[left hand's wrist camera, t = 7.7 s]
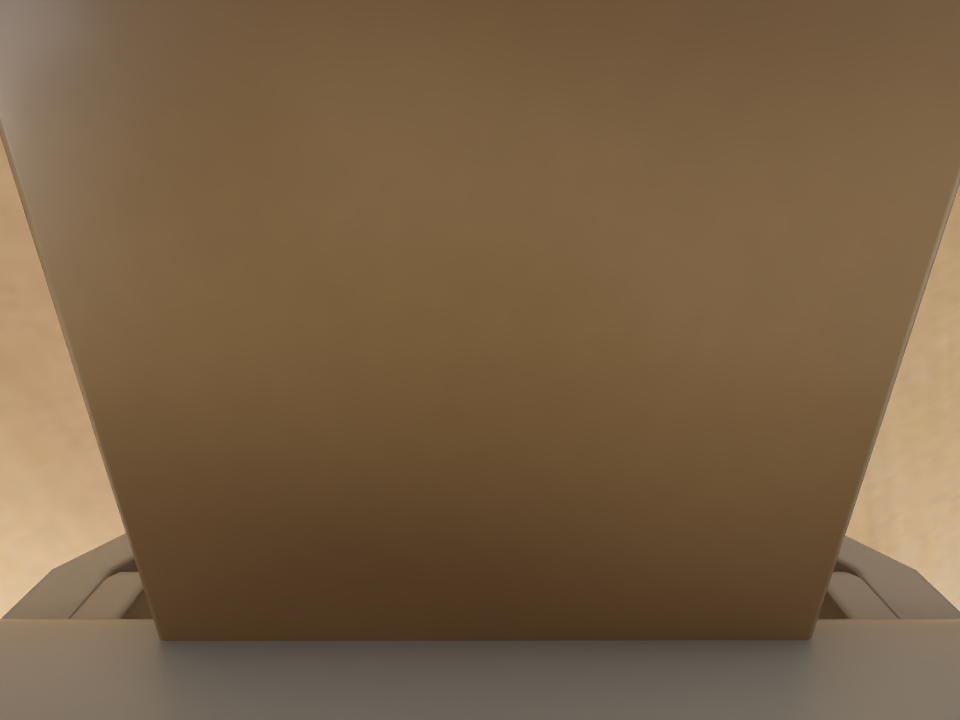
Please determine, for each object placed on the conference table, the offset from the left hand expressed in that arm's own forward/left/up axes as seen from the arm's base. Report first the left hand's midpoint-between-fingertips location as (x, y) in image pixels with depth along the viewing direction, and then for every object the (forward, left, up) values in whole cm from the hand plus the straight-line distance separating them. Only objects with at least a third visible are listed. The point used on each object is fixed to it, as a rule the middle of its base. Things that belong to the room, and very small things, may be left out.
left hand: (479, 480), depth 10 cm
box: (-5, +5, -5) cm, 8 cm away
